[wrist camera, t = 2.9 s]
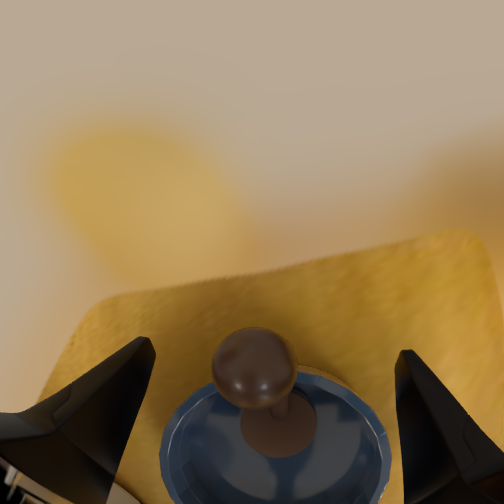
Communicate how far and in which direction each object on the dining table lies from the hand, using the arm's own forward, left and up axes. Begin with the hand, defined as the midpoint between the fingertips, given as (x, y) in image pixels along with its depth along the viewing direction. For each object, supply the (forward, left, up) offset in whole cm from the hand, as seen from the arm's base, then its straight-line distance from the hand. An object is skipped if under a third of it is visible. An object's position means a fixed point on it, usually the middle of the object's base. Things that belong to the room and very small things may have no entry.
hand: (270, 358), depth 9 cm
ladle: (-3, -1, -8) cm, 9 cm away
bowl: (-7, -1, -9) cm, 12 cm away
